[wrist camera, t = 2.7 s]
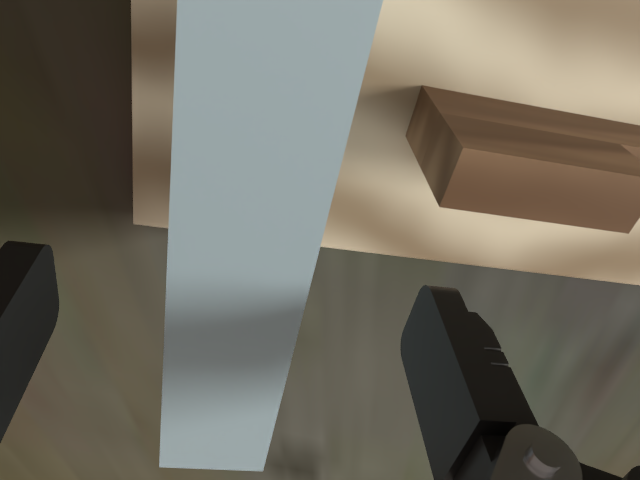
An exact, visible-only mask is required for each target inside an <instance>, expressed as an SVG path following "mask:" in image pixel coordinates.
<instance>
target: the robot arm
mask: <svg viewBox="0 0 640 480" xmlns="http://www.w3.org/2000/svg"><path fill="white" fill-rule="evenodd" d="M58 311H59V296H58V289H57V281H56V273H55V265H54V257H53V251H52V248H51V247H50V245H45V244H35V243H26V242H16V241H7V242H6V243H4V245H3V246H2V247H1V249H0V443H1V440H2V438H3V436H4V434H5V432H6V430H7V428H8V426H9V424H10V421H11V419H12V417H13V415H14V413H15V411H16V409H17V407H18V405H19V402H20V400H21V398H22V396H23V394H24V392H25V390H26V388H27V385H28V383H29V381H30V379H31V377H32V375H33V373H34V371H35V369H36V366H37V364H38V362H39V360H40V358H41V356H42V354H43V352H44V350H45V347H46V345H47V343H48V341H49V339H50V337H51V335H52V333H53V330H54V328H55V325H56V322H57V317H58ZM401 357H402V361H403V365H404V369H405V372H406V376H407V380H408V384H409V387H410V391H411V395H412V399H413V402H414V406H415V410H416V414H417V417H418V421H419V425H420V429H421V432H422V436H423V440H424V444H425V447H426V451H427V455H428V459H429V462H430V466H431V470H432V474H433V477H434V480H640V466H636V467H634V468H632V469H631V470H630V471H629V472H628V473H627V475H626V476H625V477H624V478H621V477H618V476H615V475H613V474H610V473H607V472H604V471H601V470H599V469H596V468H593V467H590V466H587V465H585V464H582V463H580V462H579V461H578V459H577V457H576V456H575V454H574V453H573V451H572V450H571V449H570V448H569V446H568V445H567V444H566V443H565V442H564V441H563V440H561V439H560V438H559V437H558V436H556V435H555V434H553V433H552V432H550V431H548V430H546V429H544V428H542V427H539V425H538V424H537V421H536V419H535V417H534V415H533V413H532V411H531V409H530V407H529V405H528V403H527V401H526V399H525V397H524V394H523V392H522V390H521V388H520V386H519V384H518V382H517V380H516V378H515V376H514V374H513V372H512V369H511V368H510V367H508V364H509V363H508V361H507V359H506V357H505V355H504V353H503V352H501V347H500V344H499V342H498V340H497V338H496V336H495V334H494V332H493V330H492V329H491V328H490V327H489V326H488V324H487V323H486V322H485V321H484V320H483V319H482V318H481V317H480V316H479V315H478V314H477V313H476V312H468V310H467V308H466V306H465V303H464V301H463V299H462V297H461V294H460V292H459V291H458V290H457V289H455V288H446V287H437V286H427V285H425V286H423V287H422V288H421V289H420V291H419V293H418V296H417V298H416V301H415V303H414V305H413V308H412V310H411V313H410V315H409V318H408V320H407V323H406V325H405V327H404V330H403V333H402V337H401Z"/></svg>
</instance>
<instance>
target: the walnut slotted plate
mask: <svg viewBox="0 0 640 480" xmlns="http://www.w3.org/2000/svg"><path fill="white" fill-rule="evenodd" d="M405 136H406V139H407V141H408V143H409V145H410V147H411V149H412V151H413V153H414V155H415V157H416V159H417V162H418V164H419V166H420V168H421V170H422V172H423V174H424V176H425V178H426V180H427V183H428V185H429V187H430V189H431V191H432V193H433V195H434V197H435V199H436V201H437V203H438V206H439V207H442V208H449V209H456V210H463V211H470V212H477V213H484V214H492V215H499V216H506V217H513V218H520V219H527V220H534V221H541V222H548V223H556V224H563V225H570V226H577V227H584V228H591V229H598V230H605V231H612V232H620V233H627V234H629V233H630V231H631V230H632V228H633V227H634V225H635V224H636V222H637V221H638V219H639V218H640V125H635V124H629V123H624V122H619V121H613V120H608V119H602V118H597V117H592V116H586V115H581V114H575V113H570V112H564V111H559V110H554V109H548V108H543V107H537V106H532V105H526V104H521V103H516V102H510V101H505V100H499V99H494V98H489V97H483V96H478V95H472V94H467V93H461V92H456V91H451V90H445V89H440V88H434V87H429V86H423V85H422V86H421V89H420V92H419V95H418V99H417V102H416V105H415V108H414V111H413V114H412V117H411V120H410V123H409V126H408V129H407V132H406V135H405Z"/></svg>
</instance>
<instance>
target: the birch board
mask: <svg viewBox="0 0 640 480" xmlns="http://www.w3.org/2000/svg"><path fill="white" fill-rule="evenodd" d="M176 20H177V0H131V47H132V145H133V224H137V225H146V226H154V227H162V228H169V202H170V176H171V150H172V124H173V98H174V72H175V46H176ZM422 85H423V86H429V87H434V88H440V89H445V90H451V91H456V92H461V93H467V94H472V95H478V96H483V97H489V98H494V99H499V100H505V101H510V102H516V103H521V104H526V105H532V106H537V107H543V108H548V109H554V110H559V111H564V112H570V113H575V114H581V115H586V116H592V117H597V118H602V119H608V120H613V121H619V122H624V123H629V124H635V125H640V0H383V3H382V7H381V11H380V14H379V18H378V22H377V26H376V30H375V34H374V38H373V42H372V46H371V50H370V54H369V58H368V61H367V65H366V69H365V73H364V77H363V81H362V85H361V89H360V93H359V97H358V101H357V105H356V108H355V112H354V116H353V120H352V124H351V128H350V132H349V136H348V140H347V144H346V148H345V152H344V155H343V159H342V163H341V167H340V171H339V175H338V179H337V183H336V187H335V191H334V195H333V199H332V202H331V206H330V210H329V214H328V218H327V222H326V226H325V230H324V234H323V238H322V242H321V246H320V247H328V248H336V249H344V250H353V251H361V252H369V253H378V254H386V255H394V256H402V257H411V258H419V259H427V260H436V261H444V262H452V263H460V264H469V265H477V266H485V267H494V268H502V269H510V270H518V271H527V272H535V273H543V274H551V275H560V276H568V277H576V278H585V279H593V280H601V281H609V282H618V283H626V284H634V285H640V218H639V219H638V221H637V222H636V224H635V225H634V227H633V228H632V230H631V231H630V233H629V234H627V233H620V232H612V231H605V230H598V229H591V228H584V227H577V226H570V225H563V224H556V223H548V222H541V221H534V220H527V219H520V218H513V217H506V216H499V215H492V214H484V213H477V212H470V211H463V210H456V209H449V208H442V207H439V206H438V203H437V201H436V199H435V197H434V195H433V193H432V191H431V189H430V187H429V185H428V183H427V180H426V178H425V176H424V174H423V172H422V170H421V168H420V166H419V164H418V162H417V159H416V157H415V155H414V153H413V151H412V149H411V147H410V145H409V143H408V141H407V139H406V136H405V135H406V132H407V129H408V126H409V123H410V120H411V117H412V114H413V111H414V108H415V105H416V102H417V99H418V95H419V92H420V89H421V86H422Z"/></svg>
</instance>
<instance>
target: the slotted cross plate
mask: <svg viewBox="0 0 640 480" xmlns="http://www.w3.org/2000/svg"><path fill="white" fill-rule="evenodd" d="M382 3H383V0H177V20H176V46H175V72H174V98H173V124H172V150H171V176H170V202H169V228H168V254H167V280H166V306H165V332H164V358H163V384H162V410H161V436H160V462H159V467H169V468H194V469H219V470H243V471H263V469H264V465H265V461H266V457H267V453H268V449H269V445H270V441H271V438H272V434H273V430H274V426H275V422H276V418H277V414H278V410H279V406H280V402H281V398H282V394H283V391H284V387H285V383H286V379H287V375H288V371H289V367H290V363H291V359H292V355H293V351H294V347H295V344H296V340H297V336H298V332H299V328H300V324H301V320H302V316H303V312H304V308H305V304H306V300H307V297H308V293H309V289H310V285H311V281H312V277H313V273H314V269H315V265H316V261H317V257H318V253H319V249H320V246H321V242H322V238H323V234H324V230H325V226H326V222H327V218H328V214H329V210H330V206H331V202H332V199H333V195H334V191H335V187H336V183H337V179H338V175H339V171H340V167H341V163H342V159H343V155H344V152H345V148H346V144H347V140H348V136H349V132H350V128H351V124H352V120H353V116H354V112H355V108H356V105H357V101H358V97H359V93H360V89H361V85H362V81H363V77H364V73H365V69H366V65H367V61H368V58H369V54H370V50H371V46H372V42H373V38H374V34H375V30H376V26H377V22H378V18H379V14H380V11H381V7H382Z"/></svg>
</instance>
